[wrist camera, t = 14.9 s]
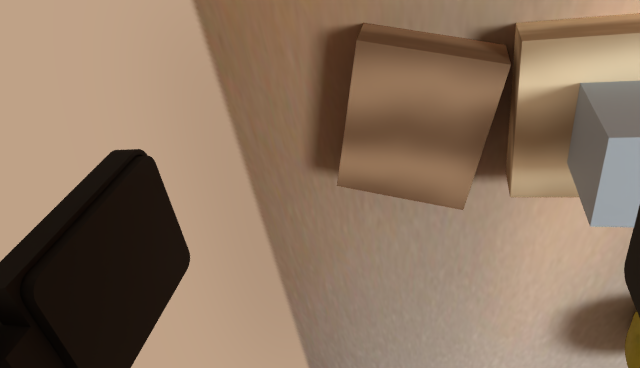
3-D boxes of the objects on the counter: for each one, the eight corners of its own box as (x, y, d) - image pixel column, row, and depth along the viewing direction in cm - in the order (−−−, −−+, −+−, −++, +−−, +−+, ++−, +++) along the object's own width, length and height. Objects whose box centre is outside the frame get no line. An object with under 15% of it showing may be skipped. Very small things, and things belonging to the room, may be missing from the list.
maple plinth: (515, 20, 35) (522, 41, 32) (718, 4, 32) (749, 25, 29) (505, 168, 41) (510, 197, 38) (673, 165, 38) (694, 197, 35)
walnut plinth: (364, 21, 37) (356, 40, 34) (505, 43, 36) (511, 64, 32) (345, 159, 44) (337, 185, 41) (461, 181, 43) (463, 210, 40)
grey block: (580, 83, 32) (608, 137, 27) (687, 78, 31) (742, 135, 25) (566, 162, 36) (590, 226, 30) (663, 162, 34) (706, 228, 29)
